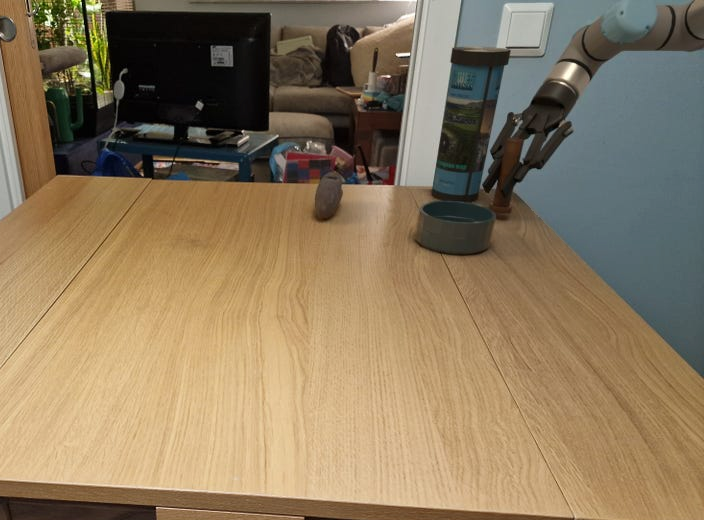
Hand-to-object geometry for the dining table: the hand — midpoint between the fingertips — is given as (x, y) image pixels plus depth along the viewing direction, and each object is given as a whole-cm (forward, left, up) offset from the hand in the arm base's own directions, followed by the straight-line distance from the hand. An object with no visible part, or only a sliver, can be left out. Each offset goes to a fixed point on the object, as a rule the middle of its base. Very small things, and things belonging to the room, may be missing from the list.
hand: (494, 191), depth 130 cm
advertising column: (+17, -7, -6) cm, 19 cm away
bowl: (-6, +15, -6) cm, 18 cm away
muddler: (+1, -4, -5) cm, 6 cm away
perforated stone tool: (+19, +26, -6) cm, 33 cm away
